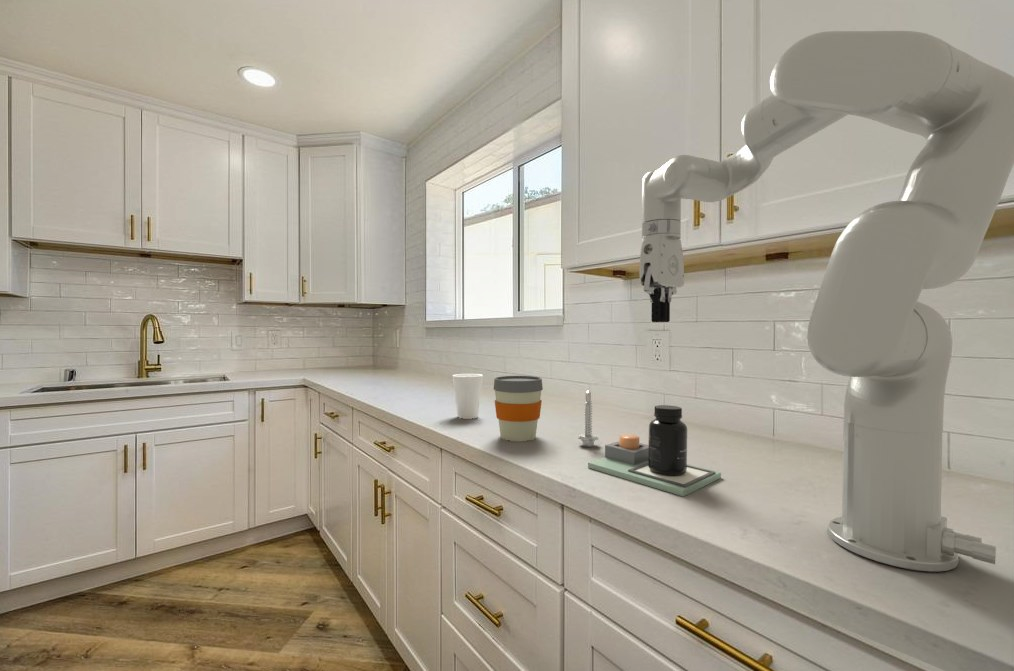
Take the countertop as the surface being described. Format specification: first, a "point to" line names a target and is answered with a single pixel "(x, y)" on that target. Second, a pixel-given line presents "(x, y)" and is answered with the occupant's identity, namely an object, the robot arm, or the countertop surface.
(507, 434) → the reusable coffee cup
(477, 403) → the foam cup
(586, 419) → the screw
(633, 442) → the button
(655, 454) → the supplement bottle
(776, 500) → the countertop surface
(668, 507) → the countertop surface
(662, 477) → the mint green tray
